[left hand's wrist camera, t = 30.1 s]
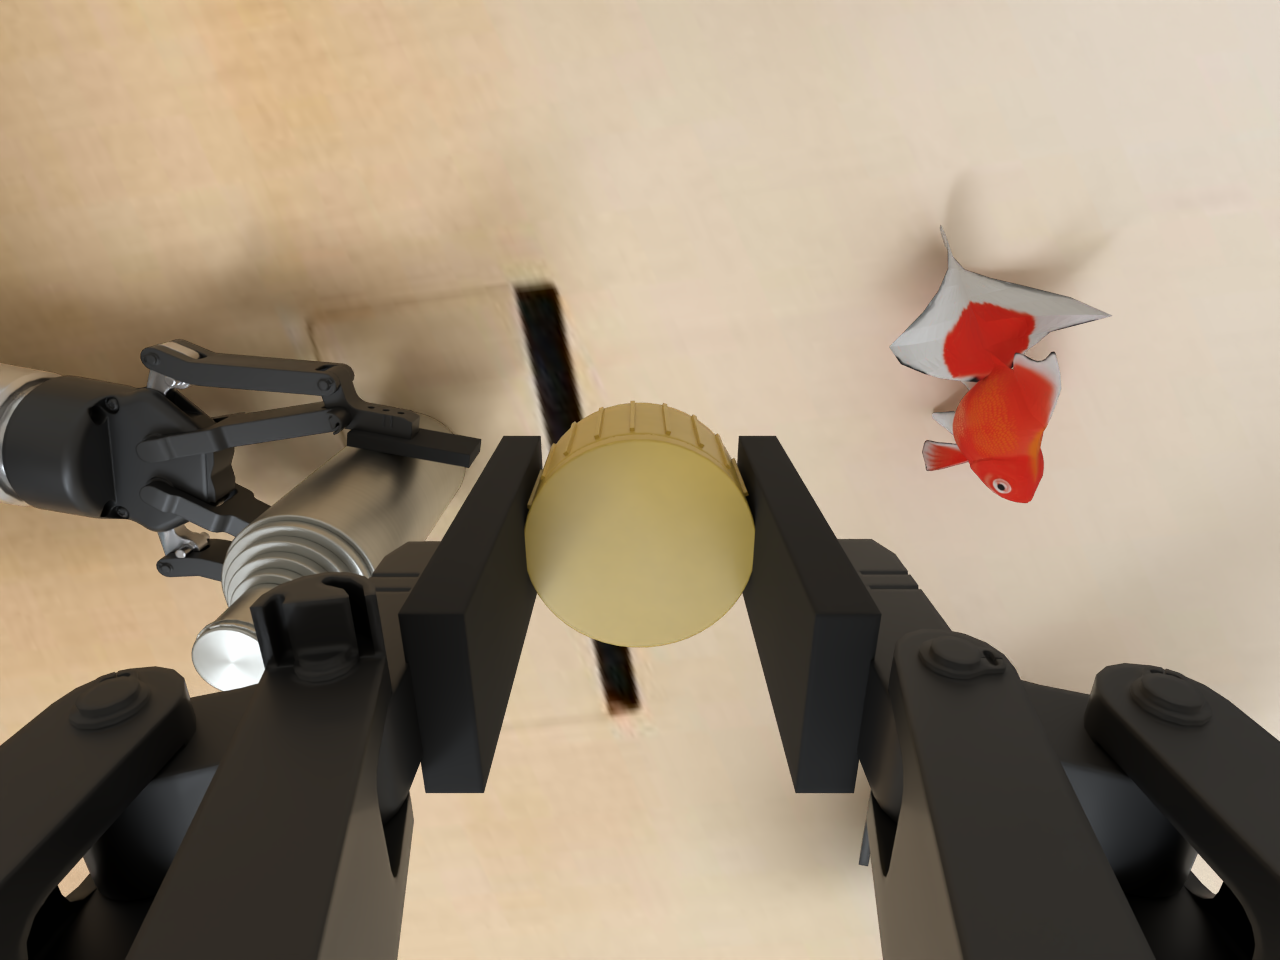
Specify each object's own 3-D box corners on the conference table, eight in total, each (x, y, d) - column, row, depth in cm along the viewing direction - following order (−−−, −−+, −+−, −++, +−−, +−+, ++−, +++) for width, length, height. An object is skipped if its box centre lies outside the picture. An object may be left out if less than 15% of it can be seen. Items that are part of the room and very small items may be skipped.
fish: (852, 515, 40) (986, 508, 31) (828, 260, 41) (950, 178, 32) (993, 504, 44) (1151, 494, 34) (967, 269, 45) (1114, 196, 35)
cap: (525, 405, 13) (503, 443, 11) (740, 392, 13) (761, 428, 11) (549, 590, 15) (534, 655, 13) (741, 579, 15) (760, 643, 13)
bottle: (479, 495, 45) (355, 716, 26) (384, 518, 46) (192, 751, 26) (444, 400, 43) (278, 563, 23) (344, 425, 43) (99, 604, 24)
